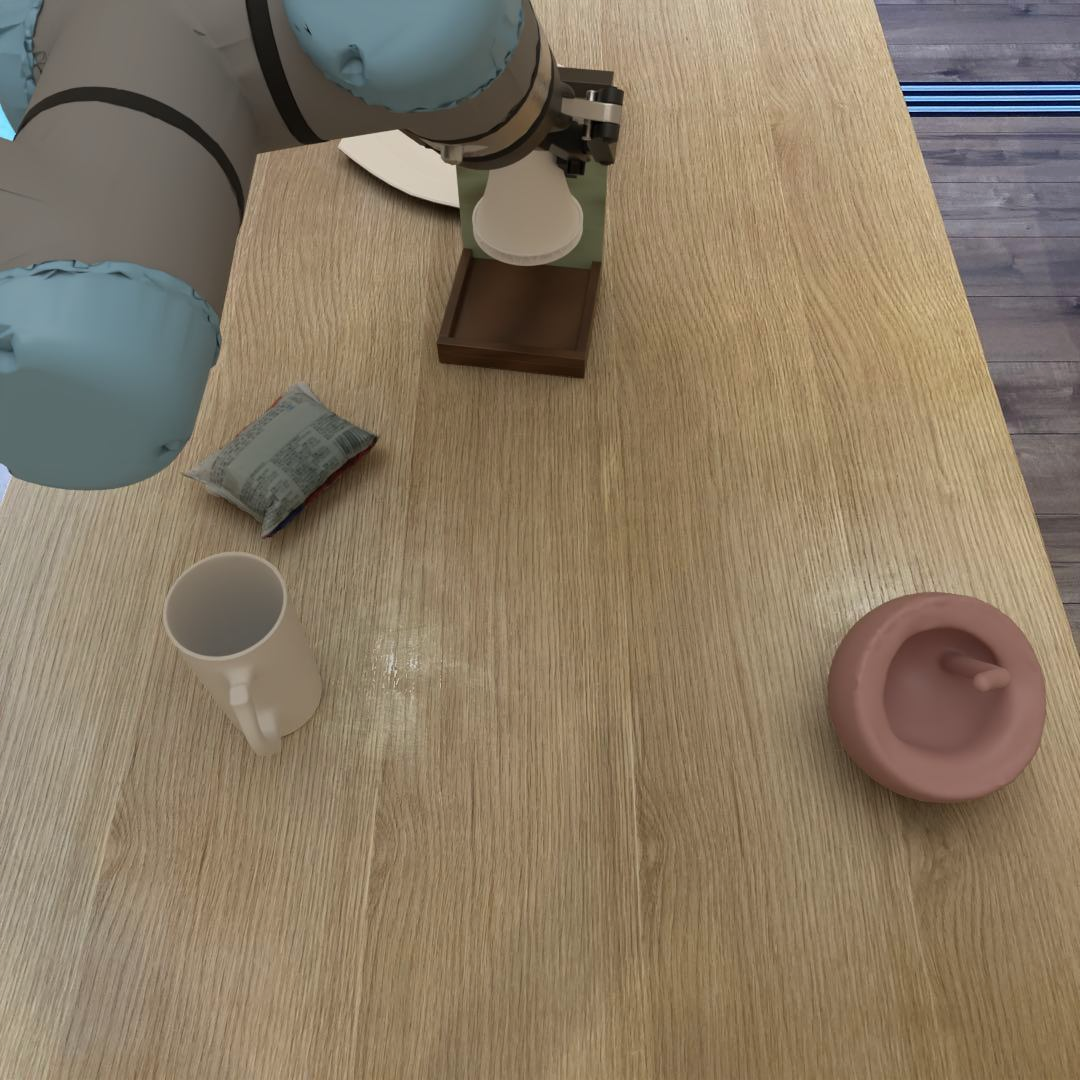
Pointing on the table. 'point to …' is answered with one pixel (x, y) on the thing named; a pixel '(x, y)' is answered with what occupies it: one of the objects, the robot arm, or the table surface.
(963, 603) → the mortar and pestle
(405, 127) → the robot arm
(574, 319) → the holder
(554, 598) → the table surface
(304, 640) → the mug
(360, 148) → the plate
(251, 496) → the packaged food
